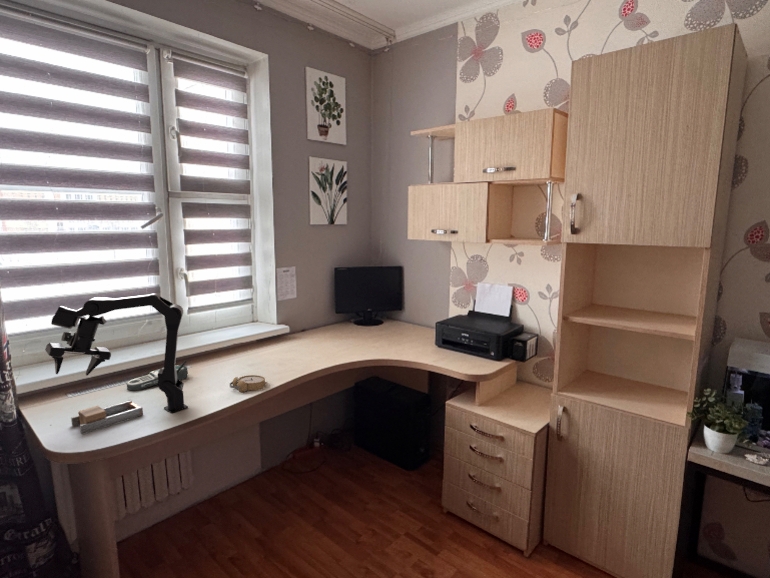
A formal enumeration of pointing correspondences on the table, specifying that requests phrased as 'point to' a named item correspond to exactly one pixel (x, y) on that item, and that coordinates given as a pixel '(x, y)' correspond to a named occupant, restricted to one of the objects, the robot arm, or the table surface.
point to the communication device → (154, 378)
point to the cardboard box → (91, 414)
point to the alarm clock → (248, 383)
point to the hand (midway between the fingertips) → (71, 374)
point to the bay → (114, 419)
